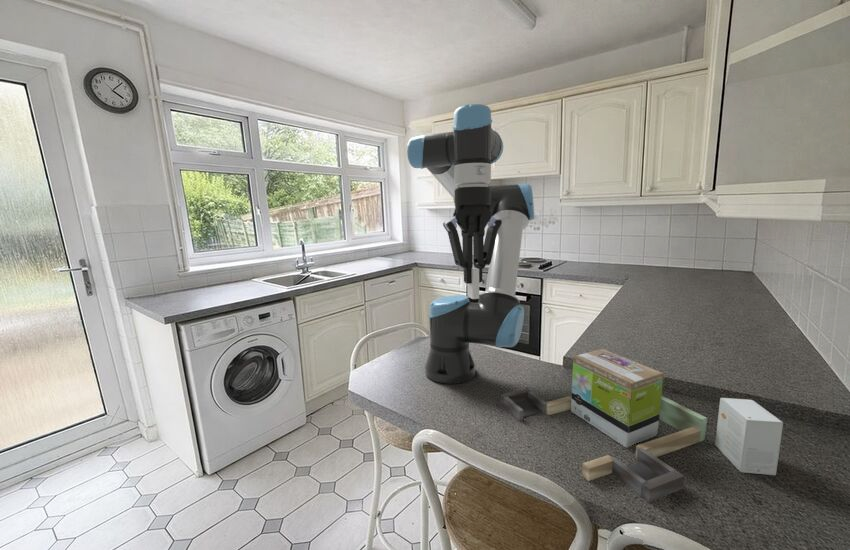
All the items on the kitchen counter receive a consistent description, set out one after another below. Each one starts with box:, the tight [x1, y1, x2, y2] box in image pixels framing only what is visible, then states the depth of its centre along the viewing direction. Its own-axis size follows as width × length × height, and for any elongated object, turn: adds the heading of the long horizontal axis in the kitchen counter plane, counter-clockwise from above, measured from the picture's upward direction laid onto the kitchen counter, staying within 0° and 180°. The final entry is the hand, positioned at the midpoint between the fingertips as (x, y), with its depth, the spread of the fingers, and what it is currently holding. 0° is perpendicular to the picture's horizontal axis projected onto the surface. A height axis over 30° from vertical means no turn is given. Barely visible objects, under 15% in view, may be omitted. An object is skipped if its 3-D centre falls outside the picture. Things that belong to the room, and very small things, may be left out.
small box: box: [714, 397, 784, 476], centre depth 66 cm, size 8×6×10 cm
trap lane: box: [500, 388, 708, 503], centre depth 77 cm, size 36×31×5 cm
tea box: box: [570, 347, 664, 449], centre depth 78 cm, size 15×10×15 cm
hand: (473, 297), depth 77 cm, fingers closed
